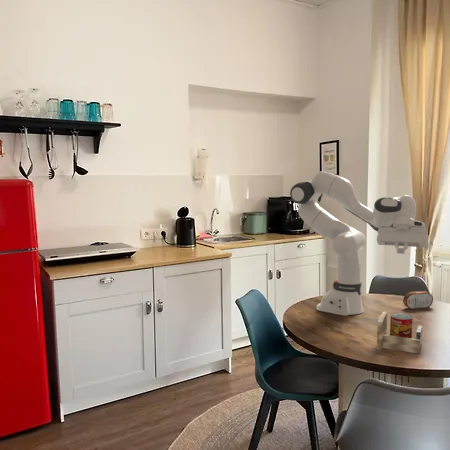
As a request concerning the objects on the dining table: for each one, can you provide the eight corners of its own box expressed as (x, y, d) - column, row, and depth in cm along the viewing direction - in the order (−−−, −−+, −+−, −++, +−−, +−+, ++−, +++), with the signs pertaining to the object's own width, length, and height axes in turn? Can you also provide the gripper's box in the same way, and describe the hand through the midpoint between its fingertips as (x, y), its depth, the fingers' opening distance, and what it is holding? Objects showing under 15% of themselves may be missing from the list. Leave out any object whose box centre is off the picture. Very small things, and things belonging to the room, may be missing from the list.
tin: (429, 306, 219) (430, 289, 218) (433, 308, 216) (434, 291, 215) (402, 308, 216) (402, 291, 216) (406, 310, 213) (406, 293, 212)
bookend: (415, 349, 165) (416, 331, 165) (417, 342, 172) (418, 325, 172) (419, 350, 165) (420, 332, 164) (421, 343, 172) (422, 325, 171)
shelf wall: (376, 349, 166) (377, 321, 165) (382, 337, 178) (383, 311, 177) (418, 356, 159) (419, 327, 158) (421, 343, 171) (422, 316, 170)
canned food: (386, 342, 173) (386, 312, 172) (405, 341, 174) (406, 312, 172) (395, 350, 165) (396, 319, 164) (415, 349, 166) (416, 318, 165)
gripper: (377, 221, 193) (373, 246, 185) (429, 223, 183) (426, 249, 176) (379, 230, 197) (375, 255, 190) (429, 232, 188) (427, 258, 180)
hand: (400, 252), depth 183 cm, fingers closed
